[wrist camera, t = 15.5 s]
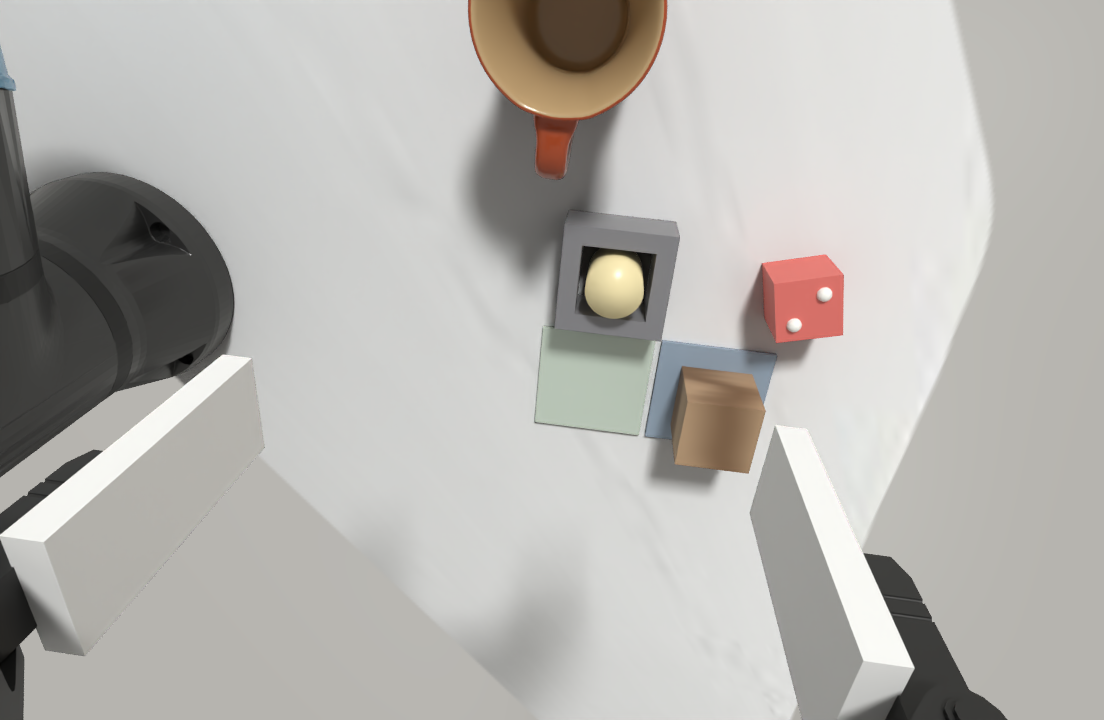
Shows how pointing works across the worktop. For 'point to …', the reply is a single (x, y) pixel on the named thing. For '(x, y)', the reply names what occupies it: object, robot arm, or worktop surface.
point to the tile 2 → (706, 358)
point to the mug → (565, 61)
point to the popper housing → (620, 236)
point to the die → (803, 298)
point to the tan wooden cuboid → (716, 419)
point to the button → (614, 283)
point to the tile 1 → (593, 380)
